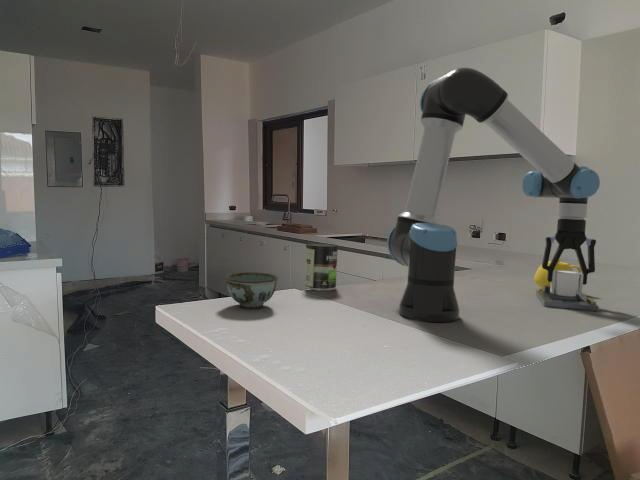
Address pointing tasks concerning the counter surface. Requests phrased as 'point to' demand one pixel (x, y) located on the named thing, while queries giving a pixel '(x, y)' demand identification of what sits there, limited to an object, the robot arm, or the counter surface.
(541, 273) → the teapot
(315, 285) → the coffee can
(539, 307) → the counter surface
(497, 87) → the robot arm
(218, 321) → the counter surface
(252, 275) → the bowl
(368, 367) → the counter surface
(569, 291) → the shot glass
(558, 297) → the chassis plate
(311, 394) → the counter surface
